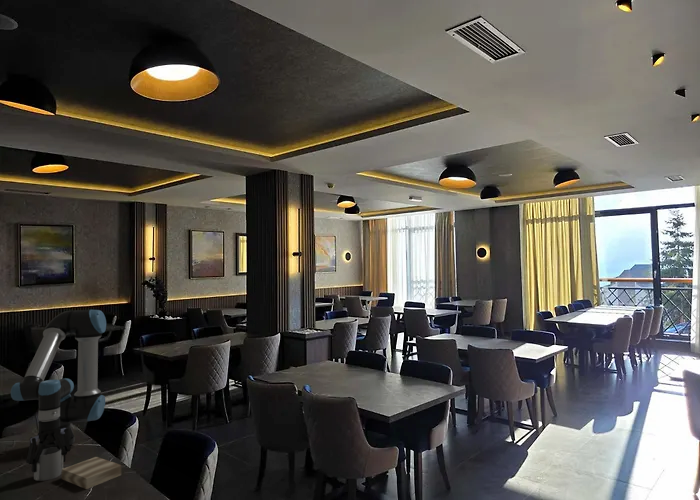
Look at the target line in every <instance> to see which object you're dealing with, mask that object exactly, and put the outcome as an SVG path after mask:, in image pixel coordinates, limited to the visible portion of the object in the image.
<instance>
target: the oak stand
mask: <svg viewBox="0 0 700 500" xmlns="http://www.w3.org/2000/svg"><path fill="white" fill-rule="evenodd" d="M120 476H122V464H119V463H117V462H114V461H110V460H108V459H104V458H101V457H99V456H94V457H92V458H90V459H89V458H88V459H85V460H83V461H80V462H78V463H75V464H73V465H70V466H66V467H63V469H62V472H61V480H63V481H65V482H67V483H70V484H73V485H75V486H78V487H80V488H83V489H85V490H89V489H90V488H92V487H95V486H98V485H100V484H103V483H106V482H108V481H109V480H110V481H111V480H113V479H115V478H117V477H120Z"/></svg>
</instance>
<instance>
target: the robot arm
mask: <svg viewBox="0 0 700 500" xmlns="http://www.w3.org/2000/svg"><path fill="white" fill-rule="evenodd" d="M106 329H107V319H106V316H105V314H104V312H103V311H102V310H100V309H82V310H81V309H80V310H79V309H78V310H77V309H75V310H66V311H63V312H61V313H59V314H57V315H55V317H53V318H52V319H51V320H50V321H49V322H48V323H47V325H46V326H45V327H44V329H43V332H42V336H43V337H42V339H41V341H40V343H39V345H38V348H37V350H36V351H35V355H34V357H33V358H32V361H31V362H30V365H29V367H28V369H27V371H26V373H25V375H24V377H23V379H22V381H20V382H15V383H14V384H13V385H12V386H11V389H10V397H11V399H12V400H14V401H23V402H25V401H33V400H34V401H35V400H37V401H38V418H37V419H38V423H37V424H38V427H37V428H38V429H37V430H38V432H37V435H36V436H33V437H32V436H31V437H29V439H28V440H29V447H28V452H27V457H26V464H29V465H31V472H32V473H33V480H35V481H38V482H39V468H40V463H37V462H38V460H39V458H40V455H41V453H42V451H43V449H47V448H53V447H57V448H58V449H59V450H60V449H61V473H62V469H63V468H64V463H66V457H67V456H66V455H68V452H71V451H72V450H71V445H73V444H74V443H75V442H76V441H75V439H76V438H75V433H74V432H73V429H72V425H71V423H75V422H79V423H80V422H91V421H92V422H93V421H97V420H99V419H100V418H101V417H102V415H103V414H104V411H105V406H106V396H105V395H103V394H102V393H101V392H102V391H101V389H99V388H98V381H99V380H98V379H99V378H98V377H99V376H98V373H99V372H98V371H99V369H98V368H99V366H98V363H99V360H98V359H99V339H101V337H103V336H102V334H103V333H105V332H106ZM68 335H74V339H75V340H76V341H77V342H78V343H77V345H78V346H77V349H78V350H77V389H76V390H77V391H76V392H74V394H73V396H72V395H71V393H72V392H73V391H74V388H75V385H74V381H72V379H70V378H66V377H65V378H60V379H48V380H45V378H46V376H47V374H48V371H49V370H50V367H51V365H52V362H53V360H54V358H55V356H56V353H57V352H58V349H59V347H60V344H61V342H62V341H63V340H65V339H66V336H68ZM36 447H37V448H36Z"/></svg>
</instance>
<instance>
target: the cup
mask: <svg viewBox="0 0 700 500" xmlns="http://www.w3.org/2000/svg"><path fill="white" fill-rule="evenodd" d="M37 463H40V468H39V480H38V482H39V481H40V482H41V481H42V482H43V481H44V482H45V481H50V480H53V479H56V478H58V477H60V476H61V475H62V472H61V449H60V450H59V449H58V448H57V447H53V448H47V449H43V451H42V453H41V455H40V458H39V460H38V462H37Z"/></svg>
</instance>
